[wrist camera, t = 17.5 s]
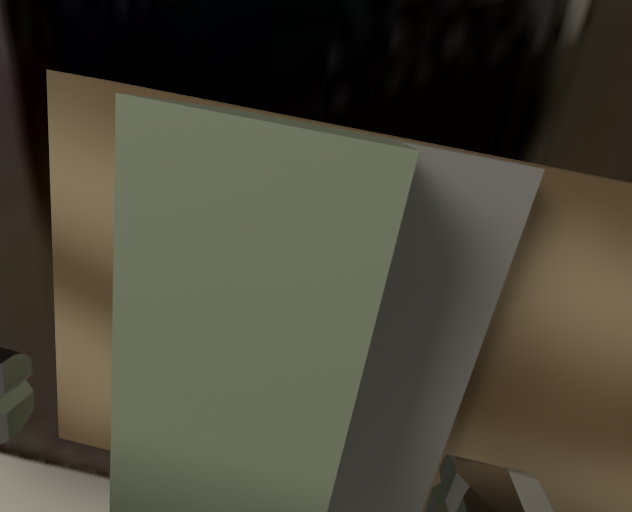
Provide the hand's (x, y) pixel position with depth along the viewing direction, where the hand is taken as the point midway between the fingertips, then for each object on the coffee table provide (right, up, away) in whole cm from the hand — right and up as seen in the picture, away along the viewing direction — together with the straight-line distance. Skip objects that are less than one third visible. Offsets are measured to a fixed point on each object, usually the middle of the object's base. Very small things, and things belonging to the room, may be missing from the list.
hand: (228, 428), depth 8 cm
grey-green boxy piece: (+2, +1, +4) cm, 4 cm away
